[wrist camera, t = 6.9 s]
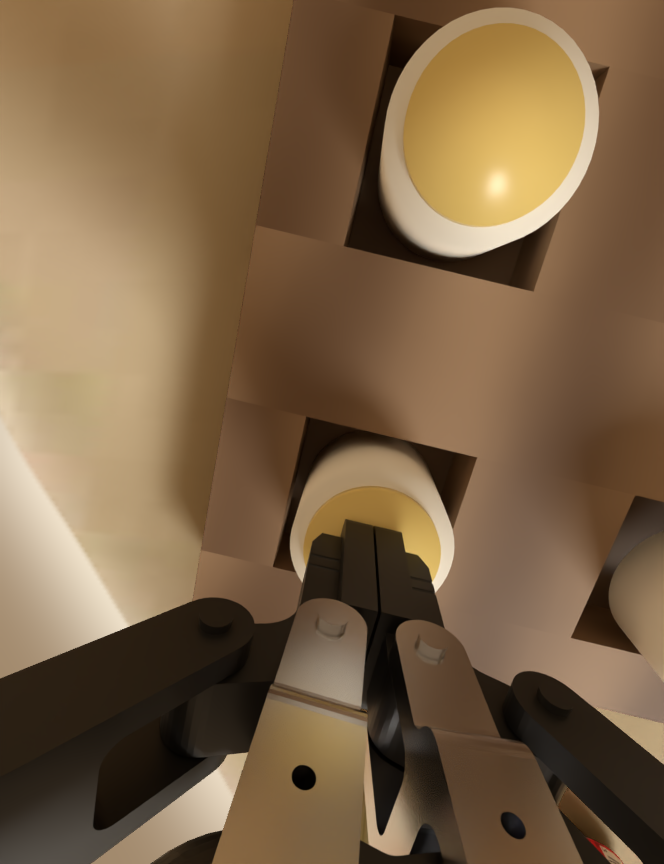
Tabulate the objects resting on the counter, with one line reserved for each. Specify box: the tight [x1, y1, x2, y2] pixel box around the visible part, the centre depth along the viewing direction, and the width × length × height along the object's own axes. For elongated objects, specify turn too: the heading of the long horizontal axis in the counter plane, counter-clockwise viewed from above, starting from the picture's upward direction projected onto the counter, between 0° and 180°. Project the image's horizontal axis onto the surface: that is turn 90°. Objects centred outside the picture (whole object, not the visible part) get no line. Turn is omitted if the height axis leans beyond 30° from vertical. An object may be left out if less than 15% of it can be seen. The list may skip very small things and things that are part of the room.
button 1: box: [378, 8, 599, 262], centre depth 11 cm, size 4×4×4 cm
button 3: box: [290, 430, 454, 592], centre depth 14 cm, size 4×4×4 cm
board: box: [192, 0, 664, 723], centre depth 14 cm, size 20×20×3 cm
